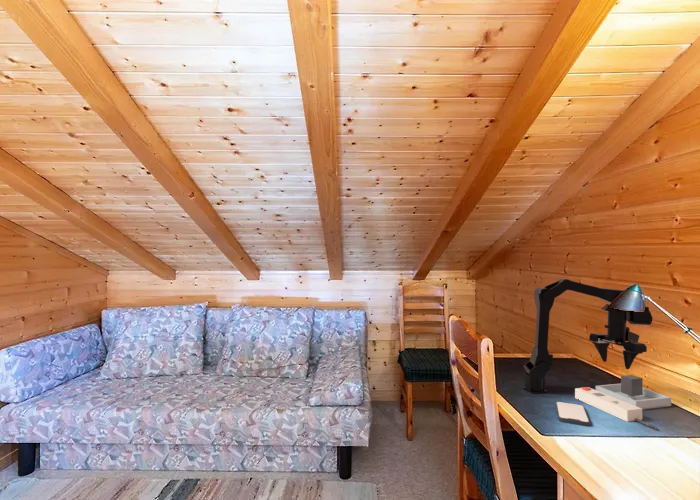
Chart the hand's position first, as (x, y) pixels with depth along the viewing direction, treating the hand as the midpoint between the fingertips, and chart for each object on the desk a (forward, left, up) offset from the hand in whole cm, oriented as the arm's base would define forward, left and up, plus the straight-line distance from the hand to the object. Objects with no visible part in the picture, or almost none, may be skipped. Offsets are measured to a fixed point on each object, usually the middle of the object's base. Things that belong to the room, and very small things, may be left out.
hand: (615, 365), depth 139 cm
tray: (+3, -4, -11) cm, 12 cm away
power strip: (-13, -11, -11) cm, 21 cm away
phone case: (-29, -10, -12) cm, 33 cm away
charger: (+3, -4, -11) cm, 12 cm away
